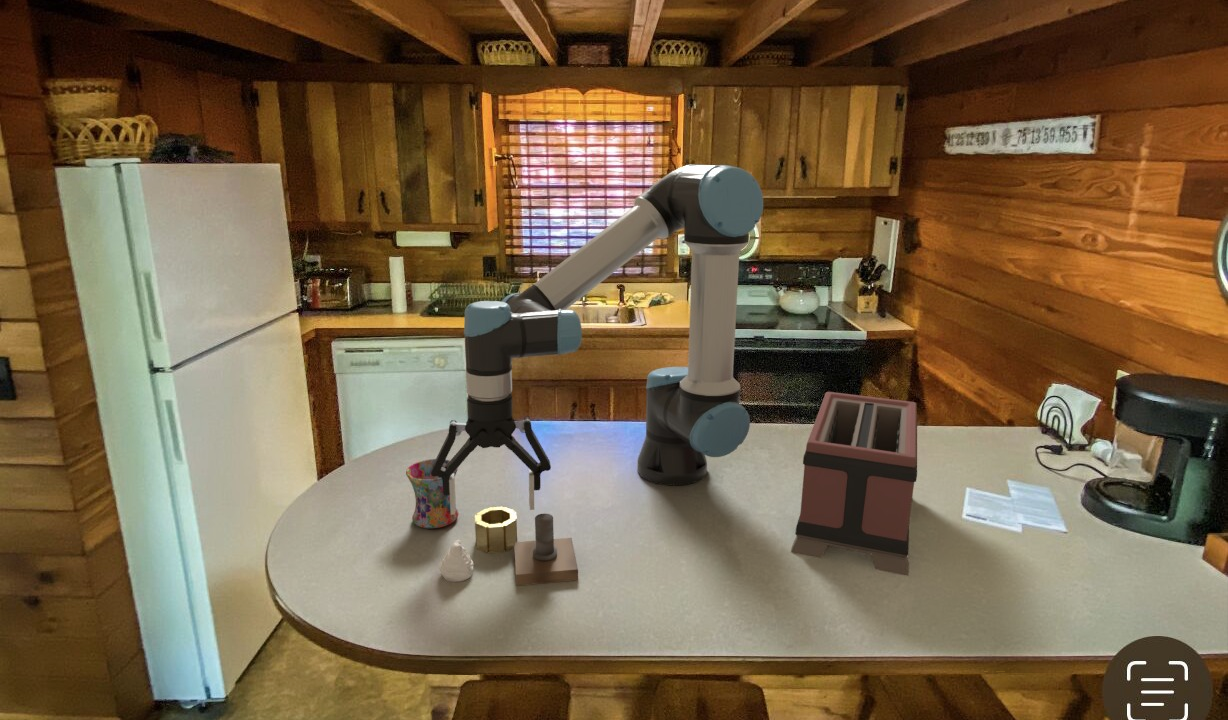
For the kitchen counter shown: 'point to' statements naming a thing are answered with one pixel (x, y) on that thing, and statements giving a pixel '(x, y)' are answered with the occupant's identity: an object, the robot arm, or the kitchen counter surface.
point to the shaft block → (545, 556)
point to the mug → (430, 496)
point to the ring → (495, 529)
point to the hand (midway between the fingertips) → (492, 508)
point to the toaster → (859, 480)
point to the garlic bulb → (456, 564)
